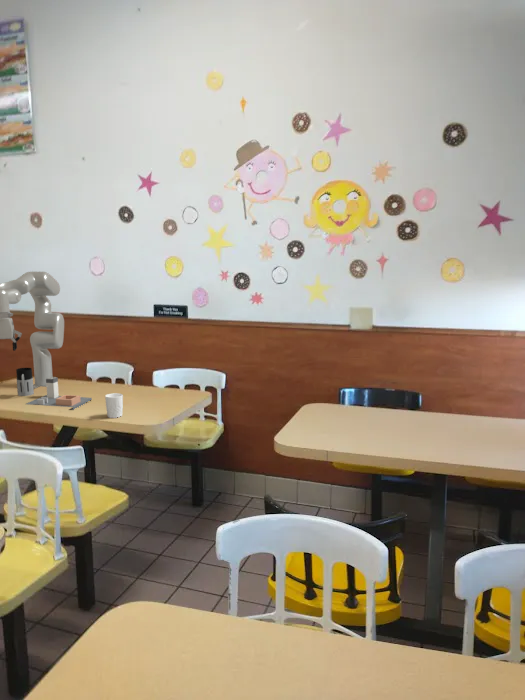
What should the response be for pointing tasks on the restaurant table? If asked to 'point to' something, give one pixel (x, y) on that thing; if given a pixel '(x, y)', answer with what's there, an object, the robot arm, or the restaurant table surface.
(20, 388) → the glass holder
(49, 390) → the salt shaker
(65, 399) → the board
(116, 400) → the white cup
